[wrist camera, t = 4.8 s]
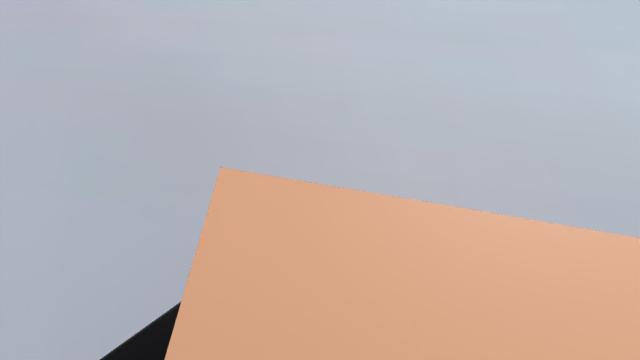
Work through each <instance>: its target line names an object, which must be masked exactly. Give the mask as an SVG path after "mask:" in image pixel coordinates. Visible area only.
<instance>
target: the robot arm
mask: <svg viewBox="0 0 640 360" xmlns="http://www.w3.org/2000/svg"><path fill="white" fill-rule="evenodd" d="M180 305H181V302H180V303H178V304H177V305H176V306H174V307H173V308H171V309H170V310H169V311H167V312H166V313H164V314H163V315H162V316H160V317H159V318H157V319H156V320H155V321H153V322H152V323H150V324H149V325H148V326H146V327H145V328H143V329H142V330H141V331H139V332H138V333H136V334H135V335H134V336H132V337H131V338H129V339H128V340H127V341H125V342H124V343H122V344H121V345H120V346H118V347H117V348H115V349H114V350H113V351H111V352H110V353H108V354H107V355H106V356H104V357H103V358H101V359H100V360H165V356H166V353H167V349H168V346H169V342H170V339H171V336H172V332H173V329H174V325H175V322H176V318H177V315H178V312H179V308H180Z"/></svg>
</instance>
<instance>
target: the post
mask: <svg viewBox="0 0 640 360" xmlns="http://www.w3.org/2000/svg"><path fill="white" fill-rule="evenodd" d="M165 360H640V239H639V238H637V237H631V236H625V235H619V234H613V233H607V232H601V231H596V230H590V229H584V228H578V227H572V226H566V225H560V224H554V223H548V222H542V221H536V220H530V219H524V218H518V217H512V216H507V215H501V214H495V213H489V212H483V211H477V210H471V209H465V208H459V207H453V206H447V205H441V204H435V203H429V202H423V201H418V200H412V199H406V198H400V197H394V196H388V195H382V194H376V193H370V192H364V191H358V190H352V189H346V188H340V187H334V186H329V185H323V184H317V183H311V182H305V181H299V180H293V179H287V178H281V177H275V176H269V175H263V174H257V173H251V172H245V171H240V170H234V169H228V168H222V167H220V171H219V174H218V177H217V181H216V184H215V188H214V191H213V195H212V198H211V201H210V205H209V208H208V212H207V215H206V219H205V222H204V226H203V229H202V232H201V236H200V239H199V243H198V246H197V250H196V253H195V257H194V260H193V263H192V267H191V270H190V274H189V277H188V281H187V284H186V287H185V291H184V294H183V298H182V301H181V305H180V308H179V312H178V315H177V318H176V322H175V325H174V329H173V332H172V336H171V339H170V342H169V346H168V349H167V353H166V356H165Z"/></svg>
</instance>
